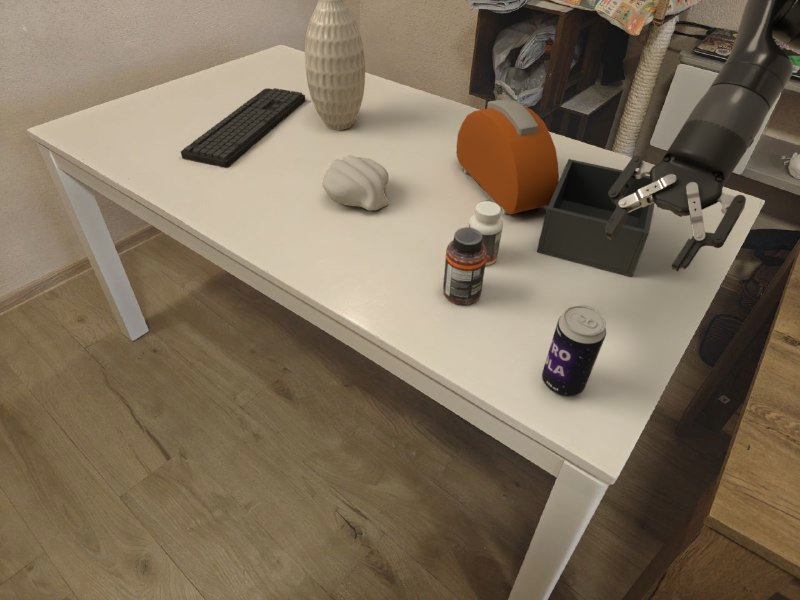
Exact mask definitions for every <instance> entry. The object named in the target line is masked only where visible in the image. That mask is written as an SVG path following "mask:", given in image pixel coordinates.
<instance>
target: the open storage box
mask: <svg viewBox="0 0 800 600" xmlns="http://www.w3.org/2000/svg"><path fill="white" fill-rule="evenodd" d="M623 170H624V169H619V168H613V167H609V166H605V165H599V164H595V163H590V162H586V161H580V160H576V159H571V158H568V159H567V161H566V164H565V166H564V169H563V171H562V173H561V175H560V177H559V182H558V185H557V187H556V189H555V191H554V194H553V196H552V198H551V201H550V203H549V205H547V206H546V207H547V208H546V210H545V214H544V218H543V223H542V229H541V231H540V236H539V239H538V240H539V241H538V245H537V249H536V253H539V254H542V255H546V256H550V257H553V258H557V259H561V260H566V261H568V262H572V263H576V264H581V265H584V266H587V267H592V268H594V269H599V270H603V271H606V272H610V273H614V274H618V275H620V276H625V277H629V278H632V277H633V274H634V272H635V269H636V267H637V265H638V262H639V259H640V257H641V255H642V252H643V249H644V247H645V244H646V242H647V240H648V237H649V235H650V232H651V231H650V230H651V225H652V219H653V214H654V210H655V209H654V208H655V205H656V204H655V203H652V204H650V205H648V206H646V207H640V208H638V209H636V210H634V211H631V212H629V213H628V218H627V219H626V221H625V223H624V224H623V226H622V227H621V229H620V231H619V232H618V234H617V235H616V237H615V239H614V240H613V241H612V240H610V239H608V238H607V237H606V231H605V225H606V224H607V222H608V220H609V219H610V217H611V216H612V214H613V212H614V211H615V209H616V205H615V204H614V203H613V202H612V201H611V199H610V197H609V195H608V192H609V190H610V189H611V187H612V186H613V184H614V183H615V182H616V180H617V179H618V177H619V176H620V174H621V173H622V172H623ZM649 184H651V182H650V175H648V174H647V175H644V176H643V177H642V178H640V179H635V181H634V182H633V184H632V185H631V186H630V188H629V189H628V191H627V192H626V193H625V195H624V197H627V196H629V195H631V194H633V193H635V192H636V191H637V190H639V189H641V188H643V187H645V186H647V185H649ZM650 199H651V198H650Z"/></svg>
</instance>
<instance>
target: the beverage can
mask: <svg viewBox="0 0 800 600" xmlns="http://www.w3.org/2000/svg"><path fill="white" fill-rule="evenodd" d="M606 323H607V322H606V319H605V318H604V316H603V314H602V313H600V311H599V310H596V309H595V308H592V307H591V306H586V305H573V306H570V307H568V308H566V309H565V310H564V312H563V314H561V315H560V316H559V318H558V319H557V323H556V326H555V328H554V333H553V337H552V339H551V342H550V346H549V349H548V352H547V356H546V358H545V362H544V365H543V369H542V373H541V378H542V382H543V383H544V385H545V386H546V387H547V388H548V389H549V390H550V391H551V392H553V393H554V394H557V395H559V396H565V397H574V396H577V395H579V394H582V393H583V391H584V390H585V389H586V386H587V384H588V381H589V380H590V376H591V374H592V371H593V369H594V366H595V364H596V362H597V360H598V356H599V354H600V351H601V348H602V346H603V344H604V341H605V338H606V337H607V328H606V327H607V326H606V325H607V324H606Z"/></svg>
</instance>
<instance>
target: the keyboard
mask: <svg viewBox="0 0 800 600" xmlns="http://www.w3.org/2000/svg"><path fill="white" fill-rule="evenodd" d="M305 102H306V94H303V92H299V91H294V90H287V89H282V88H276V87H274V88H268V87H267V88H264V89H262V90H261V91H259V92H258V93H256V95H254V96H252V97H251V98H249V99H248V100H247V101H246V102H244V103H243V104H242V105H240V106H239V107H237V108H236V109H235V110H233V111H232V112H231V113H229V114H228V115H227V116H226V117H224V118H223V119H221V120H220V121H218V123H216V124H214V125H213V126H212V127H211V128H210V129H208V130H206V131H205V132H204V133H203V134H201V135H200V136H199V137H197V138H196V139H195V140H193V141H192V142H191V143H190V144H189V145H186V146H185V147H184V148H183V149H182V150H180V156H181V158H182V159H183V160H187V161H191V162H195V163H196V162H197V163H201V164H205V165H210V166H216V167H219V168H224V169H228V168H229V167H231V166H232V165H233V164H234V163H236V162H237V161H238V160H239V159H240V158H242V157H243V156H244V155H245V154H246V153H247V152H248V151H250V150H251V149H252V148H253V147H254V146H255V145H256V144H258V143H259V142H260V141H261V140H262V139H263V138H265V137H266V136H267V135H268V134H270V133H271V132H272V131H273V130H274V129H275V128H277V126H279V124H281V123H282V122H283V121H284V120H286V119H287V118H288V117H289V116H290V115H291V114H292V113H293V112H295V111H296V110H297V109H298V108H299V107H301V106H302V105H303V104H304V103H305Z"/></svg>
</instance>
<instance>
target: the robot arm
mask: <svg viewBox="0 0 800 600" xmlns="http://www.w3.org/2000/svg"><path fill="white" fill-rule="evenodd" d="M775 40H776V41H777V42H780V43H781V44H784V45H785V46H787V47H789V48H791V49H793V50H796V51H800V0H746V3H745V5H744V8H743V12H742V16H741V19H740V23H739V27H738V31H737V33H736V37H735V39H734V43H733V45H732V48H731V50H730V53H729V55H728V57H727V59H726V61H725V63H724V64H723V65H722V68H720V71H719V73H718V74H717V75H716V77H715V78H714V80H713V82H712V83H711V84H710V87H709V88H708V90H707V91H706V92H705V94H704V95H703V96H702V98H700V100H699V101H698V102H697V104H696V105H695V107H694V108H693V109H692V111H691V113H690V114H689V116H688V117H687V119H686V121H685V122H684V124H683V125H682V127H681V128H680V130H679V132H678V133H677V135H676V136H675V138H674V140H673V141H672V143H671V145H670V146H669V148H668V149H667V151H666V152H665V154H664V156H663V157H662V159H661V160H660V161H659V162H658V163H656V164H655V165H653V164H651V163H649V162H647V161H645V160H643V158H642V157H641V155H640V154H639V155H637V154H636V155H633V156H632V157H631V159H630V160H629V161H628V163H627V164H626V166H625V167H624V168H623V169H622V170H623V172H622V173H621V174H620V176H619V177H618V179H617V180H616V182H615V183H614V184H613V186H612V187H611V189H610V190H609V192H608V195H609V197H610V199H611V201H612V202H613V203H614V204H615V205H616V209H615V211H614V212H613V214H612V216H611V217H610V219H609V220H608V222H607V224H606V225H605V231H606V237H607V238H608V239H610V240H612V241H613V240H614V239H615V237H616V235H617V234H618V232H619V231H620V229H621V227H622V226H623V224H624V223H625V221H626V219H627V218H628V213H629V212H631V211H634V210H636V209H638V208H640V207H646V206H648V205H650V204H652V203H655V204H654V205H656V207H657V208H658V209H661V210H665V211H670V212H671V213H673V214H674V215H675V216H678V217H680V218H682V217H688V216H689V220H690V227H691V230H692V237H691V238H688V239H687V240H686V242H685V243H684V245H683V246H682V248H681V250H680V251H679V253H678V254H677V256H676V257H675V259H674V261H673V262H672V264H671V266H670V267H671V270H673V271H675V272H677V273H678V272H679V271H680V269H682V270H686V269H687V268H689V266H690V265H691V263H692V262H693V260H694V258H695V257H696V256H697V254H698V252H699V251H700V250H701V249H702V248H703V247H712V248H715V249H720V248H722V247H723V246H724V244H725V243H726V242H727V239H728V238H729V236H730V234H731V233H732V231H733V228H734V227H735V225H736V223H737V222H738V221H739V218H740V216H741V215H742V213H743V211H744V210H745V206H746V202H747V198H746V196H745V195H743V194H737V195H734V194H733V195H732V194H729V193H727V192H723V189H724V186H725V184H726V183H727V182H728V179H729V178H730V176H731V175H732V173H734V171H735V169H736V167H737V166H738V164H739V163H740V161H741V160H742V158H743V157H744V155H745V153H746V152H747V151H748V149H749V148H750V147H751V146H752V144H753V143H754V142H755V141H754V140H755V138H756V136H757V135H758V133H759V132H760V130H761V127H762V125H763V124H764V121H765V119H766V117H767V116H768V114H769V112H770V110H771V109H772V107H773V105H774V104H775V103H776V101H777V99H778V98H779V97H780V95H781V93H782V92H783V90H784V89H785V87H786V86H787V85H788V82H789V81H790V78H791V77H792V75H793V72H794V64H793V62H792V59H791V57H790V56H789V55H788V54H787V53H786V52H785V51H784V50H783V49H782V48H781V47H780V46H779V45H778V44H777V42H776V41H775ZM644 175H647V176H650V182H651V184H649V185H647V186H645V187H643V188H641V189H639V190H637V191H636V192H635V193H633V194H631V195H629V196H627V197H624V195H625V193H626V192H627V191H628V189H629V188H630V186H631V185H632V184H633V182H634V181H635V179H640V178H642V177H643V176H644ZM650 198H651V199H650ZM718 203H720V204H721V207H720V208H721V209H720V212H721V213H722V214H723V216H722V219H721V220H720V222H719V224H718V225H717V228H716V229H715V231H714V232H707V231H706V230H705V224H704V216H703V210H705V209H708V208H709V207H712V206H714V205H716V204H718Z"/></svg>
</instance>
